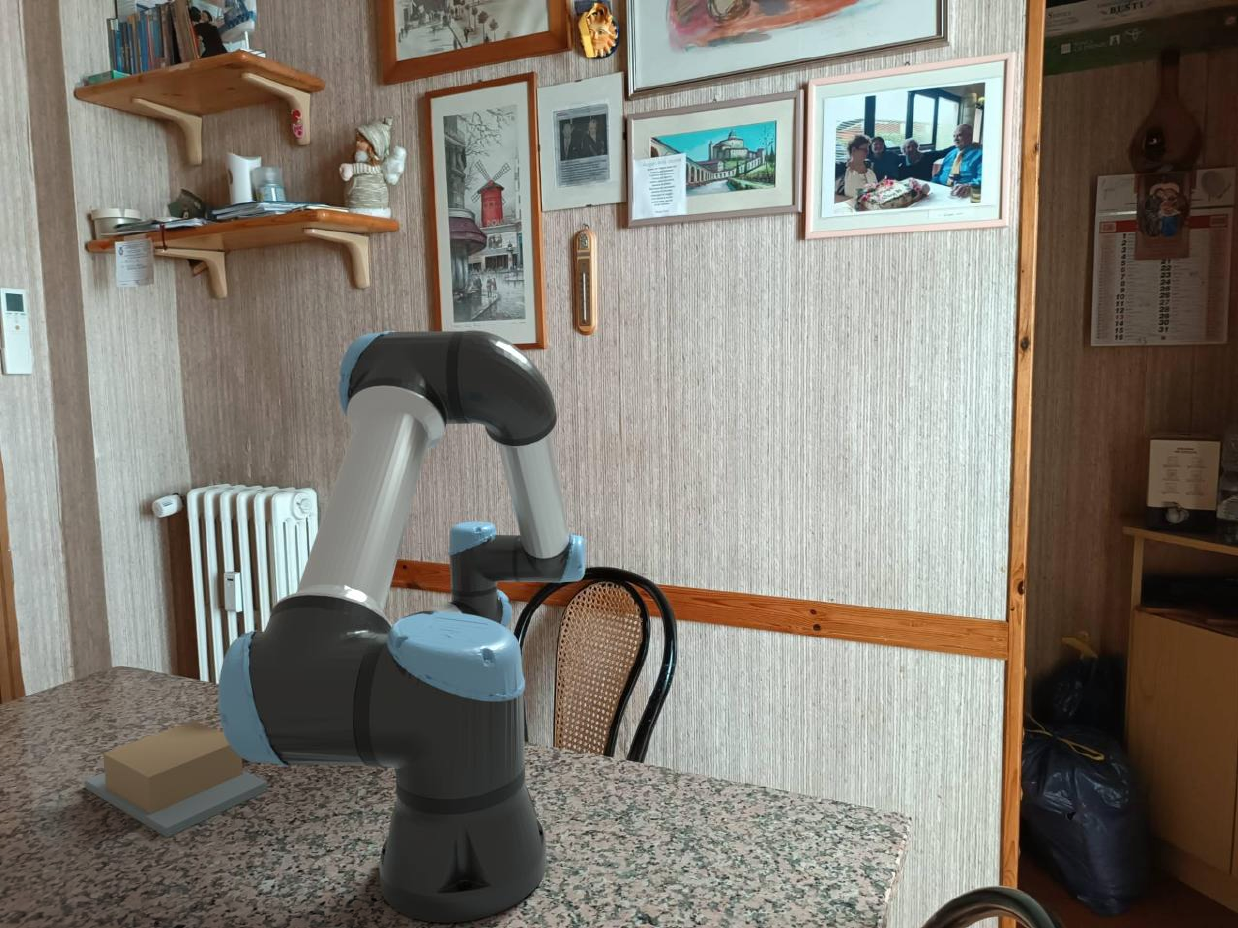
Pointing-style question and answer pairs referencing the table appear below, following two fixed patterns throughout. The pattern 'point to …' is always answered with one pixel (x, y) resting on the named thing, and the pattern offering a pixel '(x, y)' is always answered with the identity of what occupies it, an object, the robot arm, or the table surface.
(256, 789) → the plinth
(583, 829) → the table surface
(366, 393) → the robot arm
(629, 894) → the table surface
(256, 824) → the table surface
